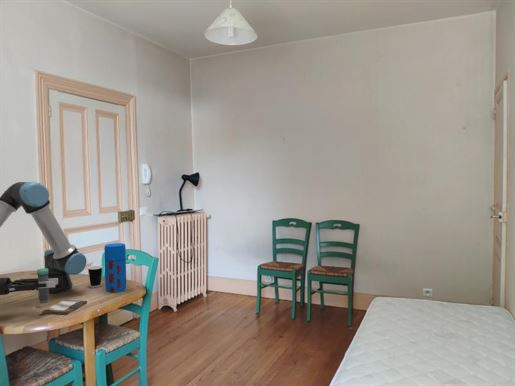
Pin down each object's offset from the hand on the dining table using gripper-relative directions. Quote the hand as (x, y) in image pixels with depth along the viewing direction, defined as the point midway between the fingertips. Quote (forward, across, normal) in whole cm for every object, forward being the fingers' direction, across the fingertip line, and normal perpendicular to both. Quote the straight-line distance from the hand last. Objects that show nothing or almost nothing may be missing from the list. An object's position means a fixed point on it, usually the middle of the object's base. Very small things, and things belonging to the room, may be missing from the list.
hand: (56, 282), depth 175 cm
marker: (-5, 0, -8) cm, 10 cm away
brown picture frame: (+2, -6, -14) cm, 15 cm away
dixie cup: (+9, -42, -14) cm, 45 cm away
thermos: (+21, -32, -14) cm, 41 cm away
